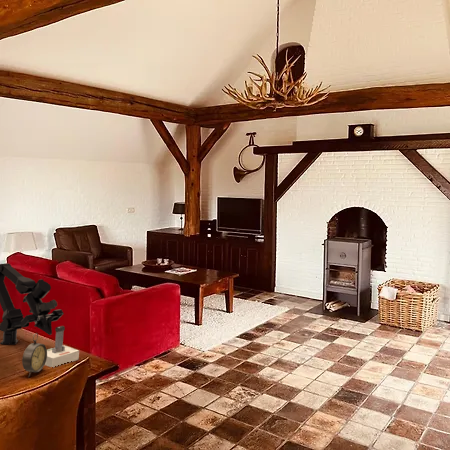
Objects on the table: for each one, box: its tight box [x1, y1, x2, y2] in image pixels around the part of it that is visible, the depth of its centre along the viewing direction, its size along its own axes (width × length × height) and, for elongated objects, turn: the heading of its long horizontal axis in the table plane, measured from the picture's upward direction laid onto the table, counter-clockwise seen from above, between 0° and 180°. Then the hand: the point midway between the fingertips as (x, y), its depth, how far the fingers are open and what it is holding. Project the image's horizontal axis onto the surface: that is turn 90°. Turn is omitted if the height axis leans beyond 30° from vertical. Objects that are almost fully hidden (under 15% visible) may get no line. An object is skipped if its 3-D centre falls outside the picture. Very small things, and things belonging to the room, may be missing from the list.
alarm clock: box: [21, 332, 48, 378], centre depth 187 cm, size 11×5×16 cm, turn 168°
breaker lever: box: [54, 325, 66, 351], centre depth 203 cm, size 2×3×10 cm
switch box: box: [44, 345, 80, 368], centre depth 203 cm, size 10×14×6 cm
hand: (50, 334), depth 205 cm, fingers closed
